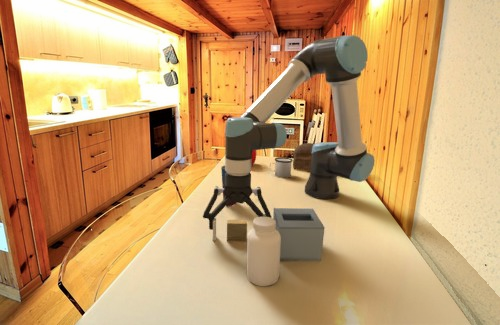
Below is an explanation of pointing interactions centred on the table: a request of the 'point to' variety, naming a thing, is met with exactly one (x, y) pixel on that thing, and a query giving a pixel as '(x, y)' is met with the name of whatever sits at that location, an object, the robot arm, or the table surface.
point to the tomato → (253, 156)
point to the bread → (303, 157)
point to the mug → (282, 167)
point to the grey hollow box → (299, 234)
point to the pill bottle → (263, 252)
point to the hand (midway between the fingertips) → (236, 238)
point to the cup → (224, 184)
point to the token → (237, 230)
